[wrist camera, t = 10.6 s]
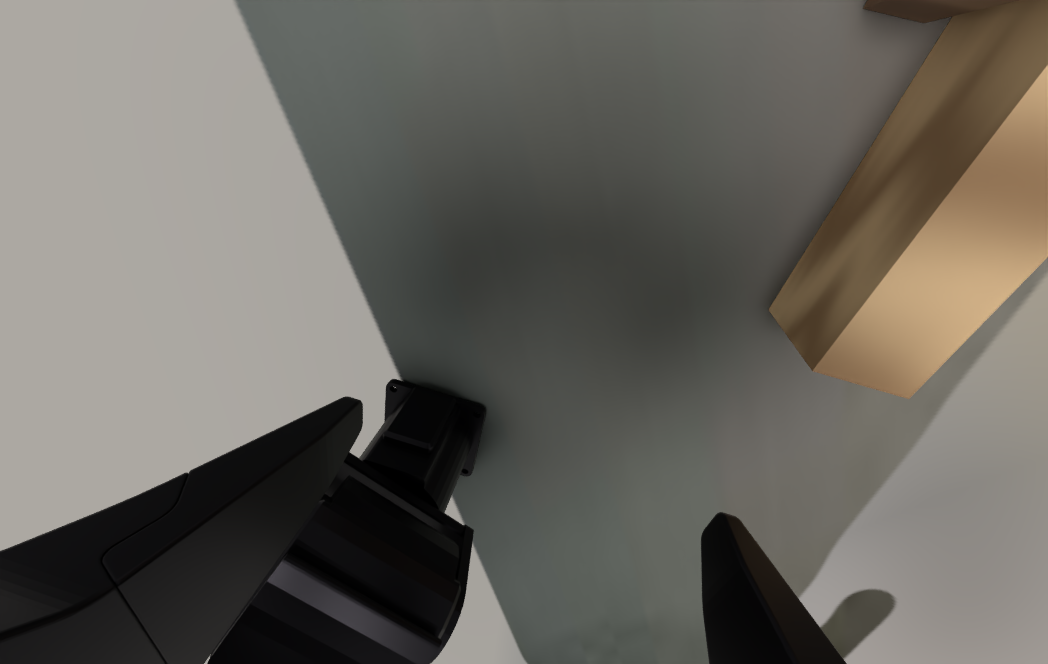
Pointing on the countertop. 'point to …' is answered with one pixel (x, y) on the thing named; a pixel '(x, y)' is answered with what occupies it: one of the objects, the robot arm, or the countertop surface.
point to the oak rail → (933, 211)
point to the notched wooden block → (929, 8)
